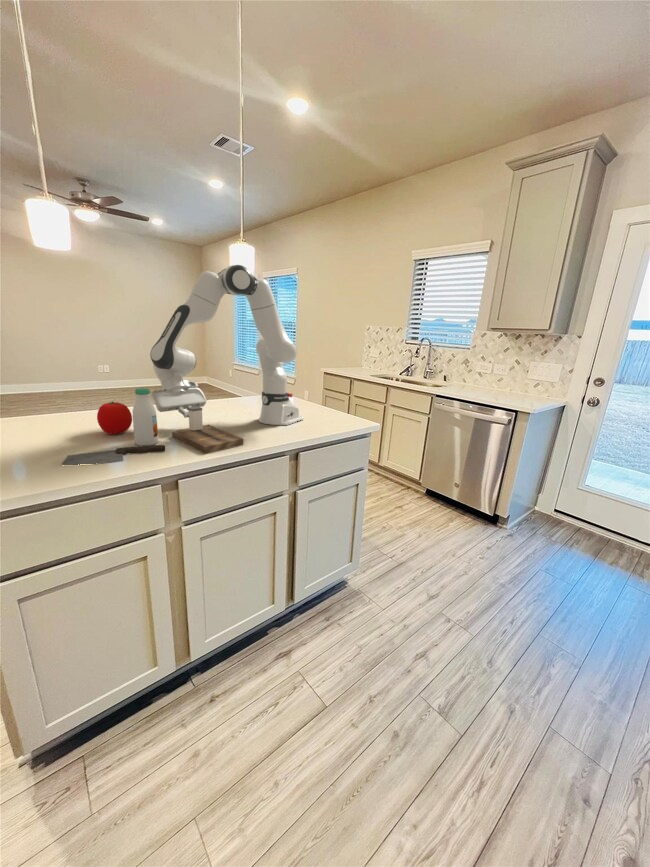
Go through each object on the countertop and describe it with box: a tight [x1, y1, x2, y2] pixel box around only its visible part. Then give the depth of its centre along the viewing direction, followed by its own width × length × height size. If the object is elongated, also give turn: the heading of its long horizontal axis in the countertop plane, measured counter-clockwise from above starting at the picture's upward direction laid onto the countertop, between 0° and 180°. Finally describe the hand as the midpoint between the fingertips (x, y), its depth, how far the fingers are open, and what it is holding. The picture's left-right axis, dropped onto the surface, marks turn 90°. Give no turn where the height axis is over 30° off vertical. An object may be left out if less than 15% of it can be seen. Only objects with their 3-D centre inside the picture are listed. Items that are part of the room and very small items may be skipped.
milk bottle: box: [132, 387, 159, 446], centre depth 127 cm, size 8×8×20 cm
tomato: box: [96, 401, 133, 435], centre depth 136 cm, size 12×12×13 cm
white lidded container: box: [187, 407, 204, 431], centre depth 139 cm, size 4×3×9 cm
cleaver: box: [61, 444, 166, 466], centre depth 115 cm, size 29×10×2 cm, turn 120°
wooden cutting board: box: [171, 424, 244, 455], centre depth 136 cm, size 16×24×2 cm, turn 49°
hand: (188, 416), depth 142 cm, fingers closed
